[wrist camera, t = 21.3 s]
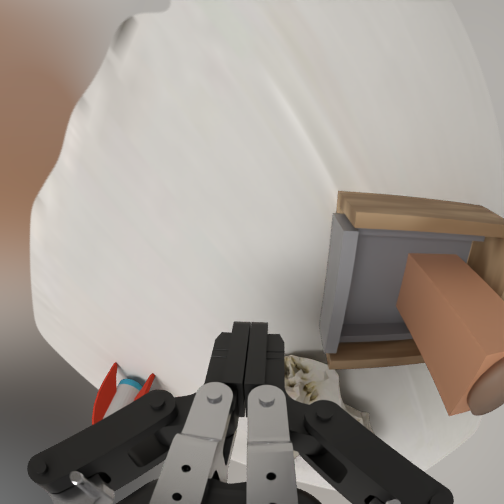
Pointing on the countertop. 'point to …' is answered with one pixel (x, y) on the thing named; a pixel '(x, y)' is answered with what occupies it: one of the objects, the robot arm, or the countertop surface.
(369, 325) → the tray
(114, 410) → the toy rocket
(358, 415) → the anatomical model
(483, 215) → the dock
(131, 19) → the countertop surface
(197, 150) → the countertop surface
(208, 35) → the countertop surface
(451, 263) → the tin
